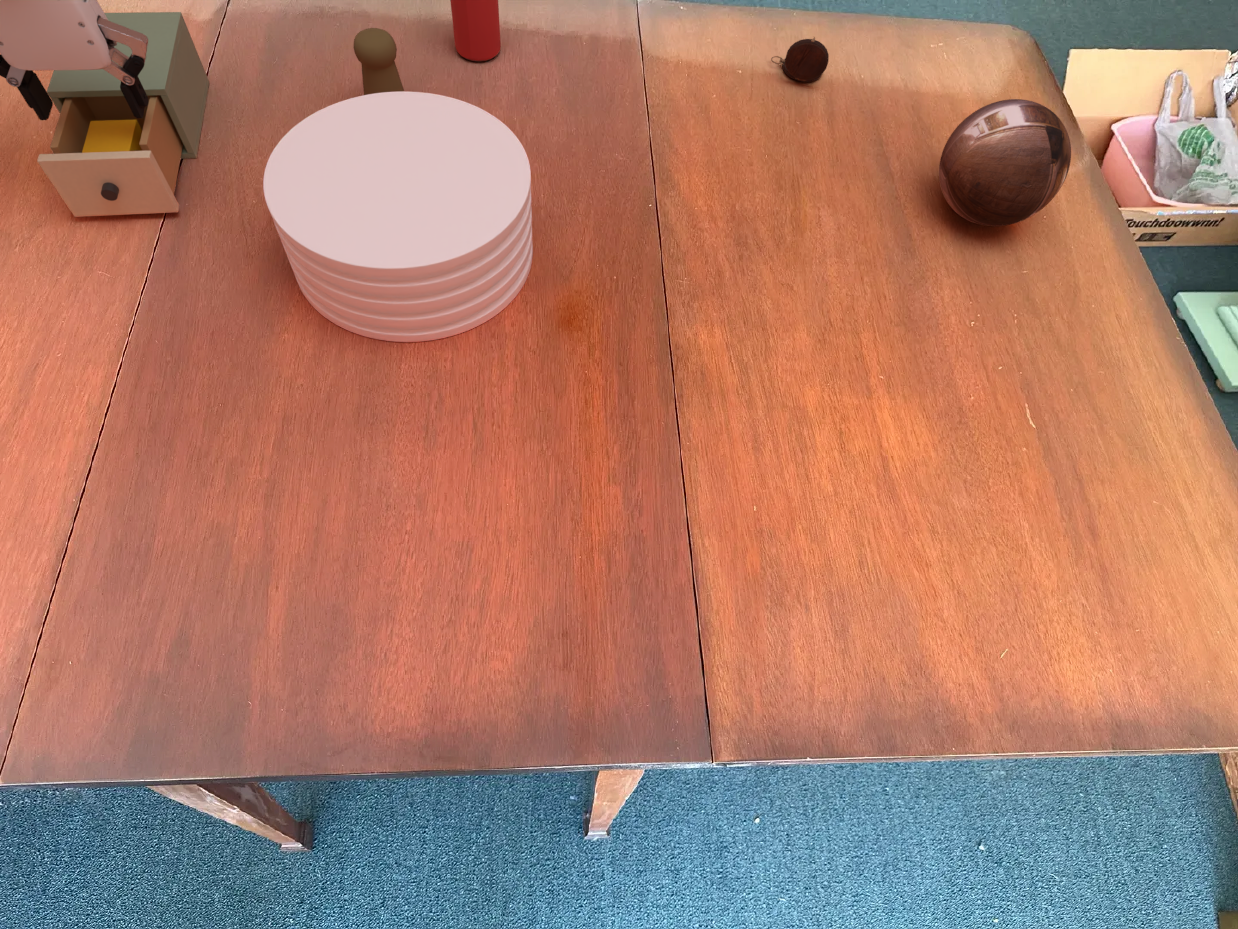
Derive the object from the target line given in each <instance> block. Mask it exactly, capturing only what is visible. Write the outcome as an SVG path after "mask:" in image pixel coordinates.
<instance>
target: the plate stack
mask: <svg viewBox="0 0 1238 929" xmlns="http://www.w3.org/2000/svg"><path fill="white" fill-rule="evenodd" d="M264 168H265V169H264V172H263V179H262V180H263V182H262V185H263V186H262V187H263V196H264V201H265V203H266V206H267V209H268V211H269V214H270V216H271V219H272V221H273V224H274V227H275V229H276V231H277V234H278V237H279V239H280V242H281V244H282V247H283V249H284V252H285V254H286V256H287V260H288V262H289V264H290V267H291V270H292V271H293V272H292V273H293V274H294V277H295V280H296V282H297V285H298V287H299V289H300V292H301V293H302V294H303V297H305V300H307V302H308V303H309V304H310V306H311V307H312V308H314V309H315V311H316V312H318V314H320V315H321V316H322V317H324V318H325V319H326V320H328V321H329V322H331V323H332V324H334V325H336V326H337V327H340V328H342V329H344V330H346V331H348V332H351V333H352V334H356V335H359V336H362V337H365V338H369V339H373V340H379V341H385V342H386V341H387V342H395V343H396V342H397V343H419V342H420V343H421V342H429V341H436V340H441V339H446V338H449V337H453V336H456V335H460V334H463V333H465V332H468V331H470V330H472V329H474V328H475V329H476V328H477V327H479V326H481V325H483V324H485V323H486V322H488V321H490V320H491V319H493V318H494V317H496V316H497V315H498V314H500V313H501V312H503V311H504V310H505V309H506V308H507V307H508V306H509V305H510V304H511V303H512V302H513V301H514V300H515V298H516V297H517V296H518V295H519V293H520V292H521V290H522V289H523V288H524V286H525V284H526V281H527V279H528V277H529V274H530V271H531V268H532V263H533V257H534V256H533V253H534V251H533V250H534V248H533V209H532V174H531V173H532V172H531V164H530V160H529V157H528V155H527V151H526V150H525V147H524V146H523V144H522V142H521V141H520V140H519V137H518V136H517V135H516V134H515V133H514V132H513V131H512V130H511V129H510V128H509V126H507V125H506V124H505V123H504V122H502V121H501V120H500V119H499V118H498V117H496V116H494V115H493V114H491V113H489V112H488V111H486V110H485V109H482V108H481V107H479V106H477V105H474V104H472V103H469V102H467V101H463V100H461V99H458V98H454V97H451V96H447V95H442V94H436V93H431V92H422V91H405V90H404V91H400V92H383V93H374V94H368V95H364V94H362V95H359V96H355V97H350V98H348V99H344V100H340V101H338V102H335V103H333V104H330V105H328V106H326V107H324V108H322V109H319V110H317V111H315V112H313V113H312V114H310V115H308V116H307V117H305V118H303V119H302V120H301V121H300V122H298V123H296V125H293V127H292V128H291V129H289V130H288V131H287V133H285V134H284V136H282V137H281V139H280V140H279V141H278V143H277V144H276V145H275V147H274V148H273V150H272V151H271V153H270V156H269V157H268V160H267V162H266V165H265V167H264Z"/></svg>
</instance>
